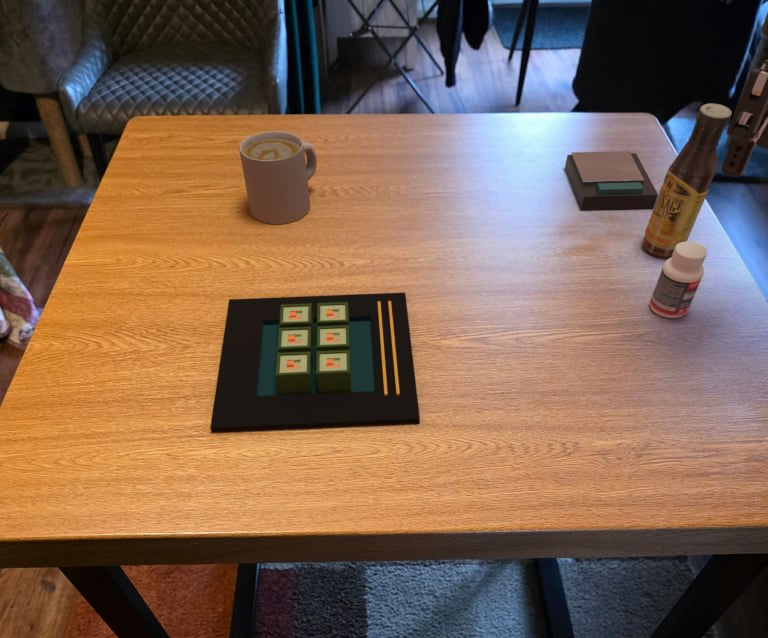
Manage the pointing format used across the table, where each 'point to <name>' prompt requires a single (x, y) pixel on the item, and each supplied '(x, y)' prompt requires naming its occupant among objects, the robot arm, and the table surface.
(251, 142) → the coffee mug
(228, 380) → the sushi
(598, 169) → the scale
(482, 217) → the table surface
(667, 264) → the pill bottle
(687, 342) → the table surface
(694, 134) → the sauce bottle
